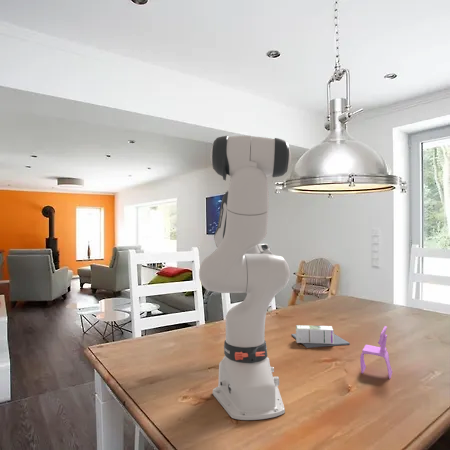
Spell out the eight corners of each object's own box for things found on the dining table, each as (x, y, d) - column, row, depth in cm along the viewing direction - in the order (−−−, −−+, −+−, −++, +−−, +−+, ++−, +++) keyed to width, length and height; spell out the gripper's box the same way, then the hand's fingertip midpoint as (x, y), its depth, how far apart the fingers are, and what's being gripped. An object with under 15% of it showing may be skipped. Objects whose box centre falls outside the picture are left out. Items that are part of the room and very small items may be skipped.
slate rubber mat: (349, 344, 140) (349, 343, 140) (306, 347, 136) (306, 346, 136) (330, 332, 156) (330, 331, 156) (291, 335, 152) (291, 334, 152)
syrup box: (296, 343, 140) (334, 345, 138) (296, 328, 140) (334, 329, 138) (295, 338, 146) (332, 340, 144) (295, 324, 146) (332, 325, 144)
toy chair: (363, 365, 119) (363, 320, 119) (392, 370, 115) (392, 324, 115) (359, 374, 112) (358, 326, 112) (389, 380, 107) (389, 330, 108)
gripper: (234, 260, 130) (250, 295, 129) (270, 242, 143) (285, 274, 141) (225, 264, 135) (240, 298, 133) (261, 247, 147) (275, 277, 146)
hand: (264, 285), depth 137 cm, fingers closed
